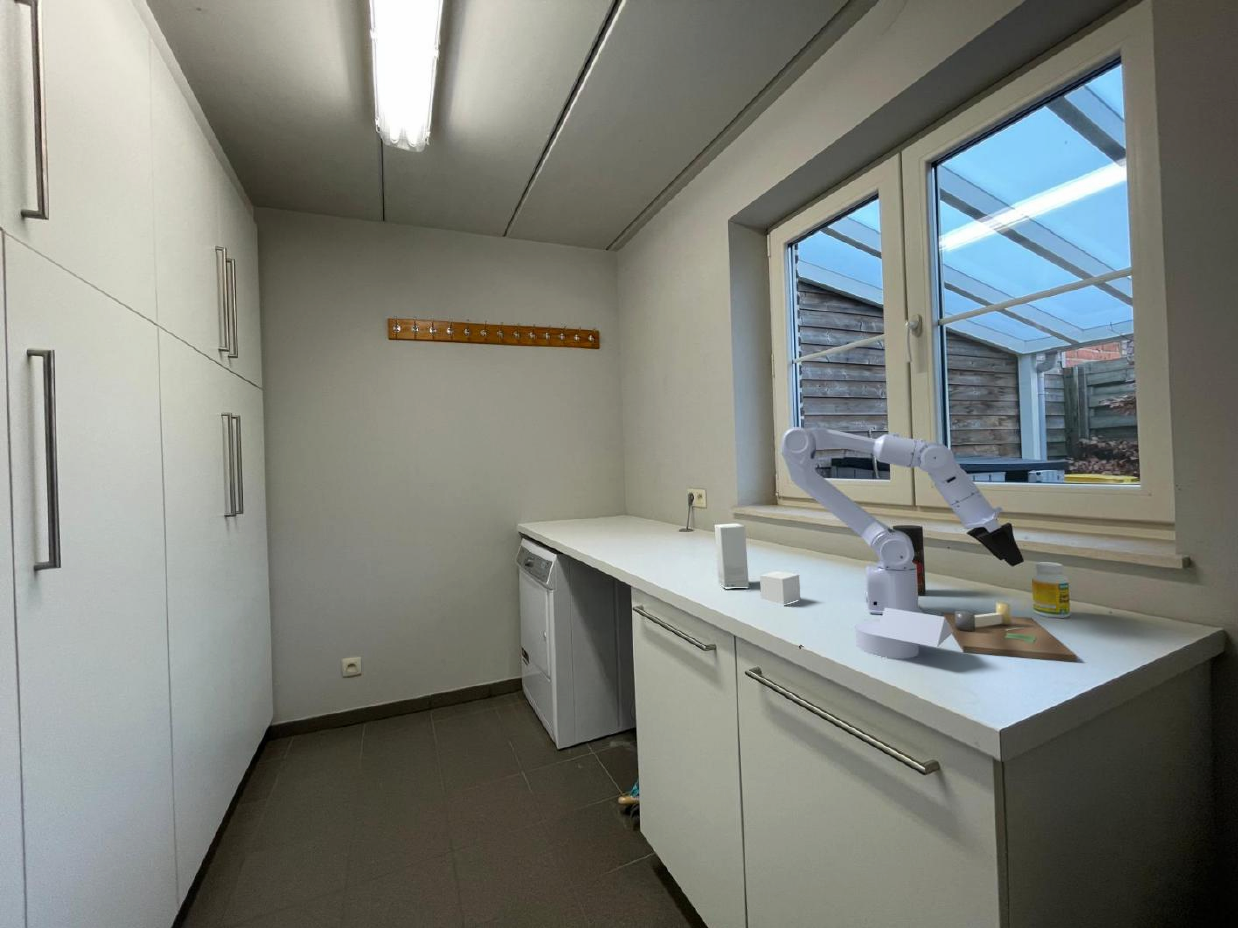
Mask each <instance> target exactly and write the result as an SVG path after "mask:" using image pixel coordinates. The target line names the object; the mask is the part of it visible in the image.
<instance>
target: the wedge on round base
mask: <svg viewBox="0 0 1238 928" xmlns="http://www.w3.org/2000/svg"><path fill="white" fill-rule="evenodd" d="M881 615H882V616H881V618H880V619H868V620H862V621H861V620H860V621H859V622H857V623H856V624H855V639H856V642H855V643H856V648H857V647H859V648H860V649H861V650H863V651H864V652H866V653H865V654H867V653H869V654H868V655H870V654H873V655H877V656H881V657H880V658H882V657H887V658H886V659H891V658H892V659H891V660H893V658H894V660H895V659H897V660H900V659H901V660H904V658H905V659H911V657H912V658H914V657H917V656H918V655H919V653H920V652H919V644H920V645H921V646H922V645H924V646H928V647H934V648H939V646H941V644H943V643H944V642H945V641H946V639H948V638H949V637H950V636H951V635H952V633H953V632H954V631H953V630H952V628H951V626H950V625H949V623H948V621H947V620H946V618H945V617H942V616H941V615H935V614H928V613H924V612H923V613H916V612H910V611H904V610H897V609H891V608H885V609H884V612H883V614H881ZM864 652H863V653H864ZM873 655H872V656H873ZM877 656H876V657H877Z"/></svg>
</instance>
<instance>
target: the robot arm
mask: <svg viewBox="0 0 1238 928" xmlns="http://www.w3.org/2000/svg"><path fill="white" fill-rule="evenodd" d="M926 442H927V439H926V438H920V439H913V438H910V437H909V438H908V437H902V436H900V433H898V432H892V433H891V434H887V433H886V434H883V435H881V436H879V437H878V438H871V437H868V436H863V435H859V434H858V435H857V434H853V433H849V432H848V433H847V432H843V431H839V430H834V429H831V428H830V429H829V428H813V427H811V428H810V427H809V428H808V427H807V428H804V427H801V426H796V427H795V426H794V427H790V428H789V429H787V431H785V433H784V434H783V436H782V439H781V447H780V449H781V451H780V452H781V455H782V457H783V459H784V461H785V465H786V468H787V471H788V473H789V476H790V479H791V481H792V482H793V483H794V484H795V485H796V486H798V488H800V489H801V490H802V491H804V492H805V493H806V494H807V495H809V496H810V497H811V498H812V499H813V500H815V501H816V502H817V503H818V504H820V505H821V506H822V507H824V508H825V509H826V510H827V511H828V512H830V513H831V514H832V515H834V516H835V517H836V518H838V519H839V520H840V521H841V522H842V523H844V524H845V525H846V526H848V527H849V528H850V529H851V530H852V531H853V532H855V533H856V534H857V535H859V536H860V537H861V539H863V541H865V543H867V545H868V546H869V547H870V548H871V549H873V550H874V551H875V553H876V554H877V556H878V559H879V560H878V561H876V562H875V563H876V564H875V565H867V566H865V579H866V580H865V583H866V586H865V587H866V592H865V594H864V595H865V597H864V598H865V602H866V605H867V608H868V613H869V614H873V615H874V614H875V615H877V614H878V615H883V612H884V609H885V608H891V609H897V610H904V611H910V612H916V613H923V614H924V612H923V610H922V608H921V607H920V605H919V596H918V584H917V568H916V567H917V565H916V564H915V563H913V562H912V560H913V558H914V549H913V545H912V541H911V539H910V538H909V537H908V536H907V535H906V534H905V533H903V532H901V531H896V530H893V528H891V527H889V526H888V525H887V524H886V523H884V522H882V521H881V520H879V519H877V517H874V516H873V515H872V514H871V513H869V512H868V511H867V510H866V509H864V508H863V507H862V506H860V505H859V504H858V503H856V501H854V500H853V499H851V498H850V497H849V496H848V495H846V494H845V493H844V492H842V491H841V490H840V489H839V488H837V487H836V486H835V485H833V484H832V483H831V482H829V481H828V480H827V479H825V478H824V477H823V476H822V475H820V474H819V473H818V472H817V471H816V459H815V457H816V453H817V450H818V451H823V450H827V449H829V448H838V449H845V450H851V451H856V452H862V453H868V454H873V456H874V457H875V459H876V460H877V461H878V462H879V463H883V464H888V465H895V466H899V467H904V468H908V469H909V468H910V469H913V468H914V469H915V468H916V467H918V468H919V469H920V470H921V471H923V472H926V473H927V475H928V477H929V478H930V479H931V480H932V482H933V483H934V484H933V485H934V487H935V488H936V490H937V491H938V492H939V494H940V495H941V496H942V498H943V499H944V500H945V502H946V503H947V504H948V506H949V507H950V509H951V510H952V511H953V513H954V514H955V515H956V516H957V518H958V519H959V520H960V523H962V527H963V528H964V529H965V530H968V531H967V532H966V535H968V536H970V537H972V538H973V539H975V540H976V541H978V542H979V543H980V544H981V545H983V546H984V547H985V548H986V549H987V550H988V551H989V552H990V553H991V554H992V555H993V557H995V558H997V559H998V560H999V561H1005V562H1006V563H1007V564H1008V565H1009V566H1011V567H1015V566H1017V565H1020V564H1021V563H1024V562H1025V560H1024V556H1023V555H1022V553H1021V551H1020V549H1019V546H1018V544H1017V541H1016V539H1015V536H1014V530H1013V525H1012V523H1011V522H1006V523H1005V524H1003V525H1001V524H1000V523H999V521H998V519H997V518H998V515H999V513H1001V512H1003V511H1004V508H1003V507H1002V506H997V507H995V508H993V505H991V503H990V502H989V501H988V499H987V498H986V497H985V496H984V494H983V493H982V492H981V491H980V489H979V488H978V486H977V484H975V482H974V481H973V480H972V479H971V477H970V476H969V475H968V474H967V472H966V471H965V469H962V468H961V465H960V463H959V462H957V461H956V460H955V457H954V452H953V451H952V449H950V448H949V447H947V446H946V445H945V444H942V443H939V442H937V443H936V442H928V443H926Z"/></svg>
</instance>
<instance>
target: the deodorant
mask: <svg viewBox="0 0 1238 928" xmlns="http://www.w3.org/2000/svg"><path fill="white" fill-rule="evenodd" d="M892 529H893V530H896V531H901V532H903V533H905V534H906V535H907V536H908V537H909V538H910V539H911V541H912V545H913V549H914V558H913V560H912V562H913V563H915V564H916V565H917V567H916V568H917V584H918V597H919V596H920V597H921V596H926V594H927V590H926V573H925V572H926V571H925V569H926V567H925V553H924V552H925V551H924V548H925V547H924V531H923V530H924V528H923V526H921V525H916V524H915V525H914V524H913V525H912V524H901V525H900V524H898V525H893V526H892Z"/></svg>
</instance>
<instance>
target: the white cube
mask: <svg viewBox="0 0 1238 928" xmlns="http://www.w3.org/2000/svg"><path fill="white" fill-rule="evenodd" d="M759 577H760V578H759V580H760V581H759V582H760V600H761V599H765V600H769V601H772V602H776V603H780V604H783V605H784V604H787V603H790V602H793V601H796V600H799V599H800V600H801V587H800V586H801V585H800V584H801V583H800V574H798V573H791V572H785V571H778V570H776V571H775V570H774V571H771V572H767V573H764V574H763V573H762V574H760V575H759Z"/></svg>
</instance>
